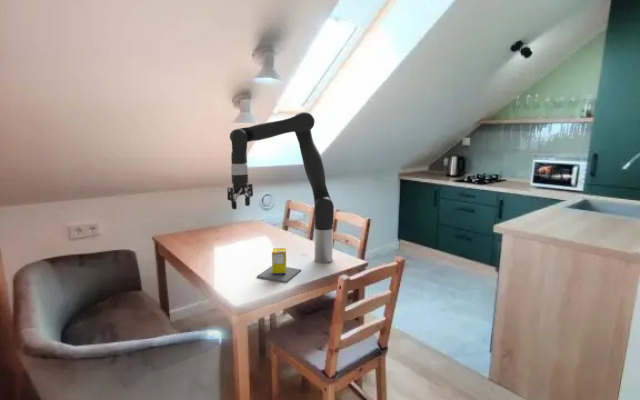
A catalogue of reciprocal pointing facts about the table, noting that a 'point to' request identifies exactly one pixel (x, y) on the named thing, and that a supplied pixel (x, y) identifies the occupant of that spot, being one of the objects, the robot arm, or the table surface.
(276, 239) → the table surface
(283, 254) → the supplement box
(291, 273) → the charcoal mat
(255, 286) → the table surface
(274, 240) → the table surface
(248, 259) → the table surface
